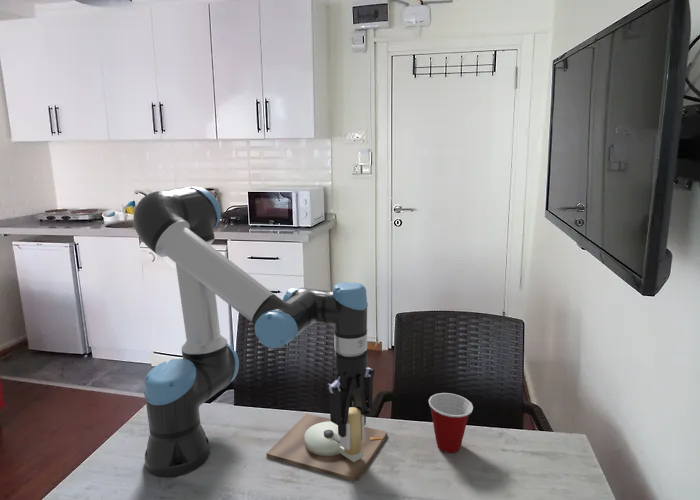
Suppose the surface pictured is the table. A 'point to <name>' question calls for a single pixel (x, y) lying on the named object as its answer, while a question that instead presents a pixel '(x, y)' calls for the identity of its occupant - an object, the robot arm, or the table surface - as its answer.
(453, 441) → the plastic cup
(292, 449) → the base plate
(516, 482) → the table surface
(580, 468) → the table surface
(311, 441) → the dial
